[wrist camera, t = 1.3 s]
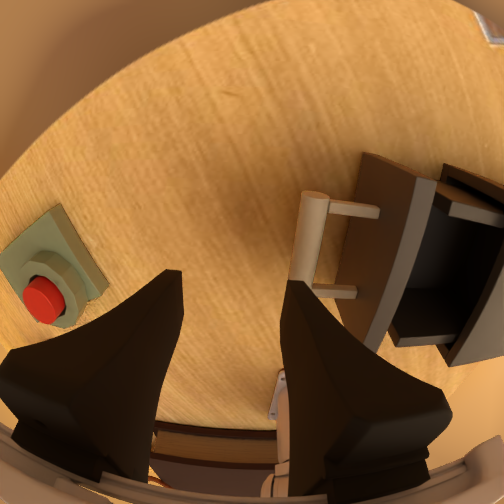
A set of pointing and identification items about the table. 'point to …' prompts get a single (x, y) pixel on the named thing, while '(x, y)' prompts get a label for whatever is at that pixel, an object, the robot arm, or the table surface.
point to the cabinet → (492, 297)
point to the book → (213, 459)
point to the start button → (43, 300)
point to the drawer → (402, 254)
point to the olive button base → (54, 264)
